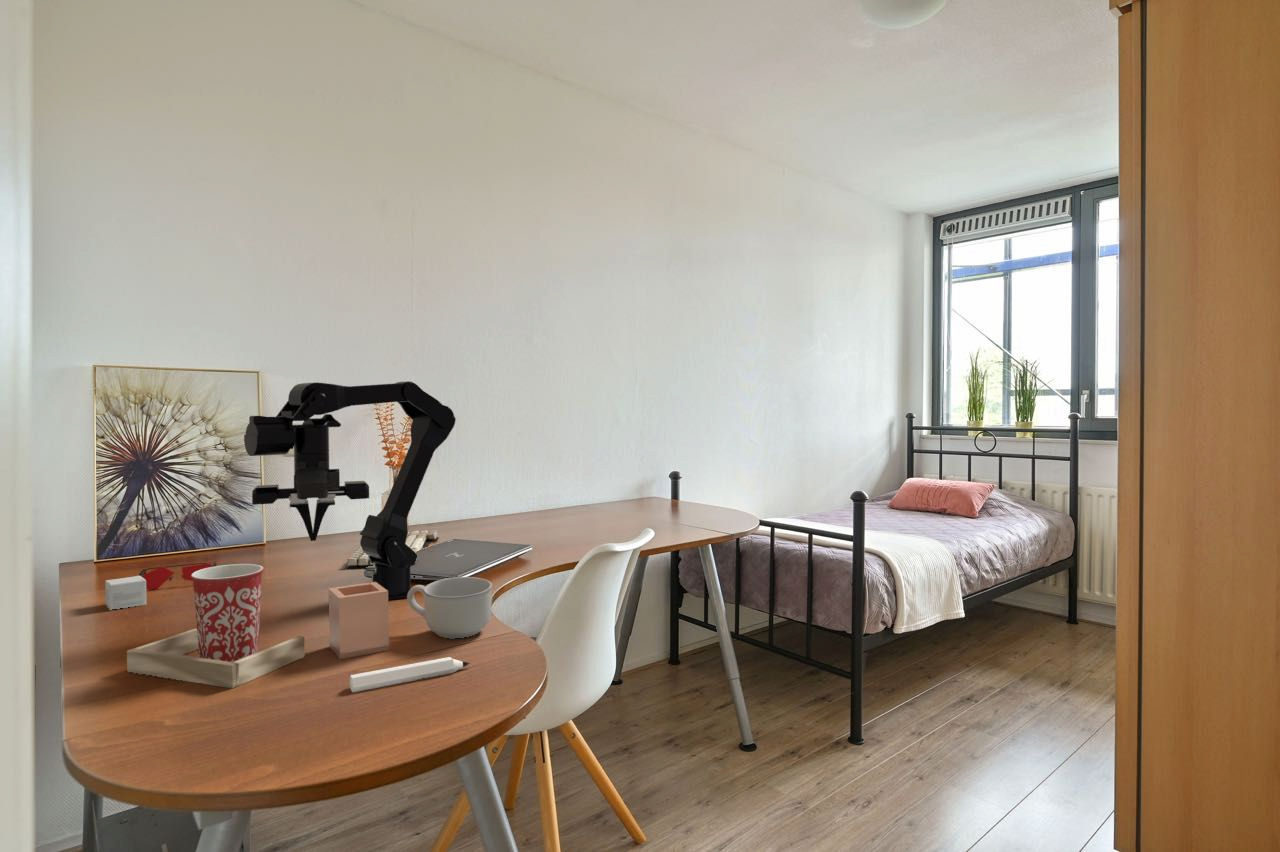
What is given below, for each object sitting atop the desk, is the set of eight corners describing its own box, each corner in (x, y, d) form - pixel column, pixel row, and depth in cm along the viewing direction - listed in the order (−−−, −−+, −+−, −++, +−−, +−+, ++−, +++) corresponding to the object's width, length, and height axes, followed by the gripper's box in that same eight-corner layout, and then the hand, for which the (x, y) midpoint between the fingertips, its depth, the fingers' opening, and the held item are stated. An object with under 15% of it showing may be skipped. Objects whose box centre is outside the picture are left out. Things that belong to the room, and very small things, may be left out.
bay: (206, 644, 113) (206, 625, 113) (304, 656, 107) (304, 636, 107) (127, 672, 101) (126, 650, 101) (232, 688, 95) (232, 665, 95)
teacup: (504, 626, 121) (504, 579, 121) (469, 647, 111) (468, 595, 111) (433, 619, 126) (432, 573, 125) (393, 638, 115) (392, 588, 115)
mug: (269, 666, 103) (267, 571, 103) (195, 679, 98) (193, 580, 98) (257, 642, 114) (256, 556, 113) (189, 654, 109) (187, 564, 108)
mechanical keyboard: (426, 568, 168) (426, 554, 168) (339, 573, 164) (339, 558, 164) (439, 540, 205) (439, 528, 204) (368, 543, 201) (368, 531, 201)
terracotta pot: (376, 638, 116) (375, 581, 115) (389, 650, 110) (388, 591, 110) (329, 646, 112) (328, 588, 111) (340, 659, 106) (339, 598, 106)
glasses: (135, 594, 145) (135, 569, 145) (143, 578, 159) (143, 555, 159) (216, 585, 152) (216, 561, 151) (217, 570, 166) (216, 548, 166)
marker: (472, 674, 102) (351, 697, 94) (467, 663, 104) (349, 684, 96) (475, 661, 101) (353, 683, 93) (470, 650, 103) (350, 670, 94)
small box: (141, 599, 140) (140, 574, 140) (147, 605, 136) (146, 579, 135) (104, 605, 136) (103, 579, 136) (109, 611, 132) (109, 584, 131)
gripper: (249, 457, 118) (250, 553, 118) (371, 454, 126) (372, 543, 126) (253, 453, 128) (255, 541, 128) (366, 450, 136) (367, 533, 136)
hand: (313, 540), depth 130 cm, fingers closed
